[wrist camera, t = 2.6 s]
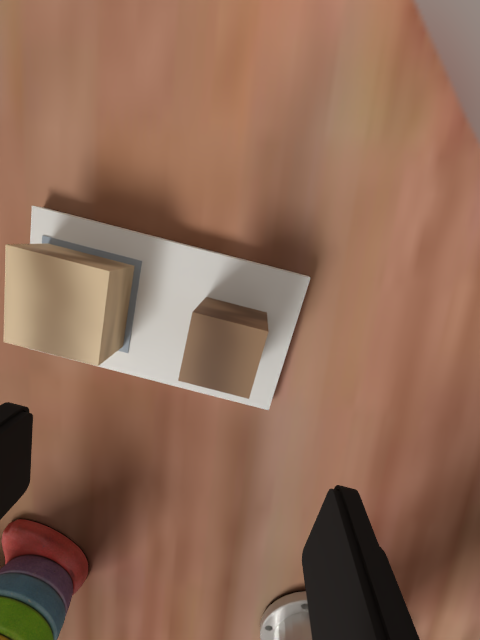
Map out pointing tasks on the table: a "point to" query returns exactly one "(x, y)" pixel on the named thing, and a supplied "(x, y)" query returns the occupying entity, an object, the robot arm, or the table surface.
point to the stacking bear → (37, 580)
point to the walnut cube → (224, 347)
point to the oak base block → (65, 301)
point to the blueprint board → (181, 297)
